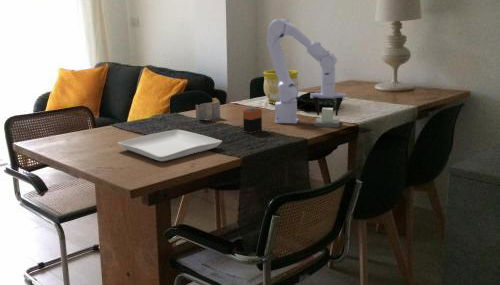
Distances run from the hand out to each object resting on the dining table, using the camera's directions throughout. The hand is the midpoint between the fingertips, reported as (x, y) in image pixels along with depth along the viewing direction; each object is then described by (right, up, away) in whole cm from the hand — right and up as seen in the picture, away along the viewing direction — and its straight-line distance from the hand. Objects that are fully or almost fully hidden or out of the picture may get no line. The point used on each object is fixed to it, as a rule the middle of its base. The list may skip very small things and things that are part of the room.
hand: (327, 115), depth 217 cm
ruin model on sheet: (-52, -2, +16) cm, 54 cm away
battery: (-32, -7, -9) cm, 34 cm away
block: (0, -2, +1) cm, 2 cm away
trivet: (0, -4, +1) cm, 4 cm away
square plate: (-61, -15, -34) cm, 72 cm away
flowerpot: (-17, +9, +53) cm, 56 cm away
